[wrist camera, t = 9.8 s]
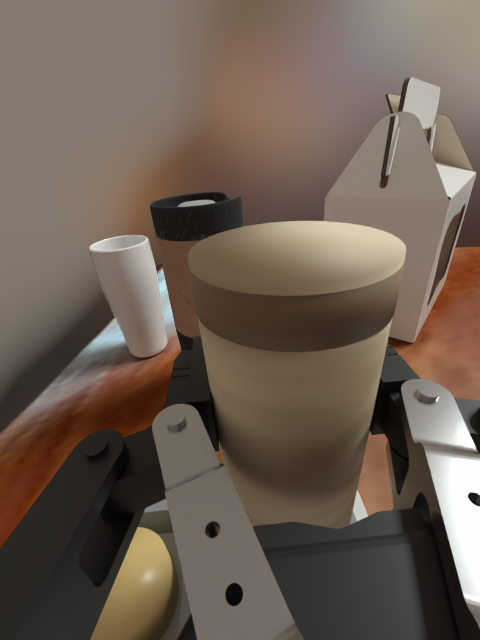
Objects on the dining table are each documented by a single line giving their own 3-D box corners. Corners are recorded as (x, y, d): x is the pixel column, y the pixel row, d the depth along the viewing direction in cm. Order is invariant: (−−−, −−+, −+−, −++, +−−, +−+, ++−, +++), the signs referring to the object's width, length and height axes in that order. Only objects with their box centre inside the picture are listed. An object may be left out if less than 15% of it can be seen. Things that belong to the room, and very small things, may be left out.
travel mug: (179, 404, 32) (129, 210, 22) (200, 360, 38) (169, 194, 28) (249, 410, 30) (231, 204, 20) (259, 363, 37) (248, 189, 27)
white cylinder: (151, 330, 46) (124, 232, 38) (183, 341, 42) (160, 236, 35) (114, 354, 41) (75, 248, 33) (147, 369, 38) (111, 254, 30)
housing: (344, 470, 24) (349, 437, 22) (471, 793, 12) (508, 787, 10) (85, 499, 24) (66, 468, 22) (-51, 862, 12) (-122, 869, 10)
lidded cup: (300, 444, 16) (308, 213, 10) (375, 536, 12) (462, 245, 6) (214, 489, 14) (163, 242, 8) (270, 616, 10) (247, 313, 4)
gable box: (367, 270, 59) (392, 97, 45) (444, 282, 52) (503, 80, 38) (316, 318, 45) (329, 87, 31) (412, 345, 37) (488, 55, 23)
